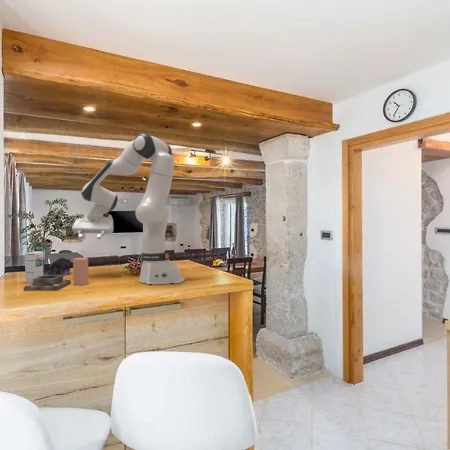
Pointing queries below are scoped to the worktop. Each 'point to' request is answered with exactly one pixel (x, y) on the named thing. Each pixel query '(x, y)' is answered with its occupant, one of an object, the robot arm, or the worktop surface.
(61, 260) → the crystal cluster
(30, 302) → the worktop surface
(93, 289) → the worktop surface
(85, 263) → the terracotta tower block
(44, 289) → the walnut base board
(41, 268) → the syrup box
